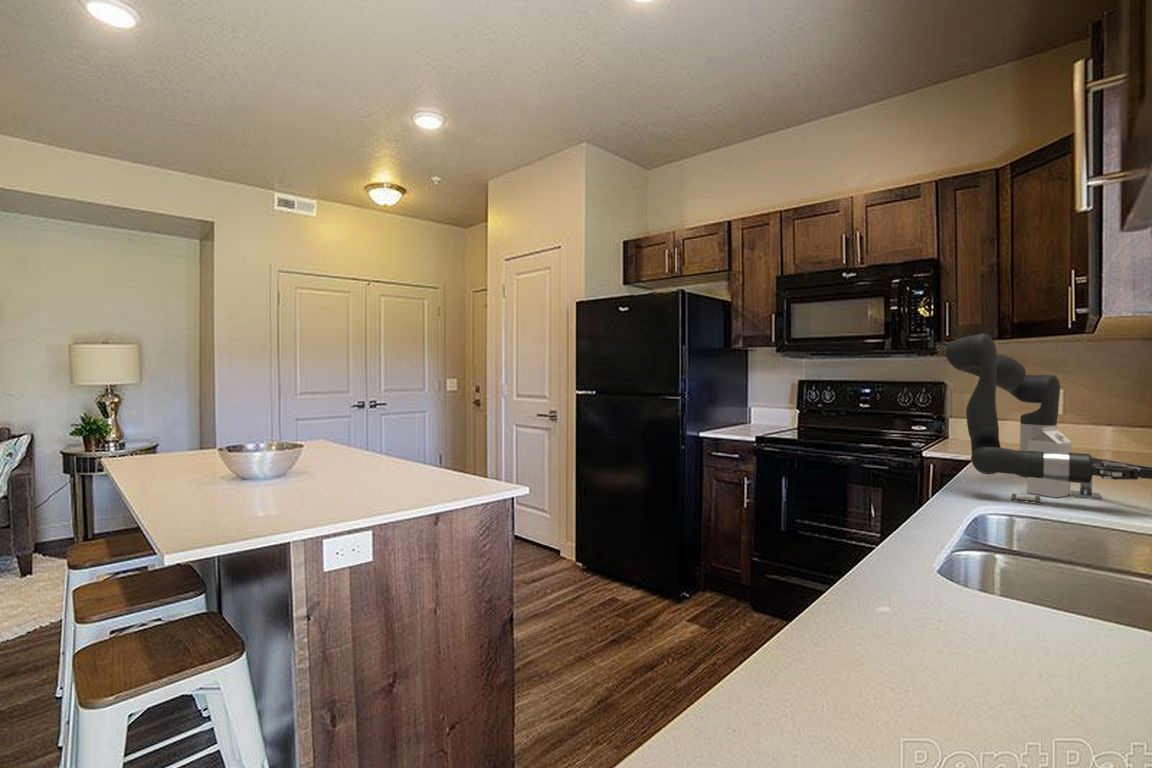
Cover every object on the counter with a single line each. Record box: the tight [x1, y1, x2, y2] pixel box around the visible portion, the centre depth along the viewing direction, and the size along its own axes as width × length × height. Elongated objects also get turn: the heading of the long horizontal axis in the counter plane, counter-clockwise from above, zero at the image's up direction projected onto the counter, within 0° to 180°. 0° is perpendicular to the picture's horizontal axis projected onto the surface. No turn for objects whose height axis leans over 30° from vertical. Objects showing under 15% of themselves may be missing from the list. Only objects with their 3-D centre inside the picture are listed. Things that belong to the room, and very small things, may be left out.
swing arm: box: [1090, 454, 1152, 469], centre depth 144 cm, size 26×4×3 cm, turn 4°
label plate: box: [1011, 492, 1041, 504], centre depth 152 cm, size 8×6×1 cm
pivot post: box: [1070, 479, 1103, 501], centre depth 155 cm, size 6×6×8 cm
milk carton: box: [1026, 425, 1072, 498], centre depth 158 cm, size 7×7×19 cm
